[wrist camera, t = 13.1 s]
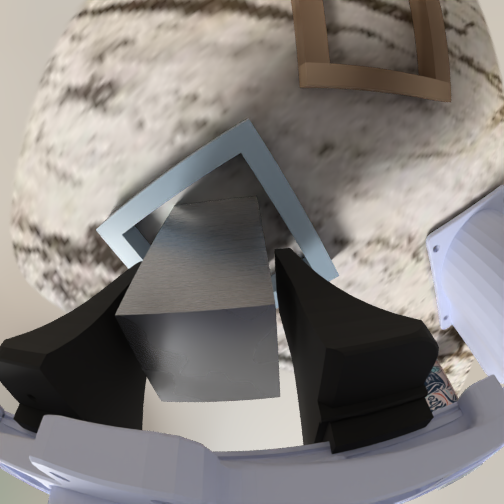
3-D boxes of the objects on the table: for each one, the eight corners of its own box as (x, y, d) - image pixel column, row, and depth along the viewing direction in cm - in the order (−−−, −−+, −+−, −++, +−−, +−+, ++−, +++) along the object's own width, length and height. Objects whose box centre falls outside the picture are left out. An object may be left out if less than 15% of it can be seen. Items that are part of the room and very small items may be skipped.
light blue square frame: (331, 260, 15) (339, 275, 14) (203, 326, 17) (200, 343, 16) (247, 117, 12) (249, 119, 10) (107, 217, 14) (95, 229, 12)
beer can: (434, 343, 20) (493, 455, 9) (436, 368, 22) (482, 465, 11) (387, 370, 21) (433, 490, 10) (394, 391, 23) (432, 493, 12)
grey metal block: (256, 195, 13) (275, 304, 6) (263, 267, 15) (280, 396, 8) (174, 205, 14) (114, 315, 7) (189, 274, 15) (161, 401, 8)
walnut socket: (418, -17, 7) (433, -24, 6) (434, 100, 11) (451, 102, 10) (284, -43, 7) (289, -57, 6) (299, 87, 11) (307, 85, 10)
